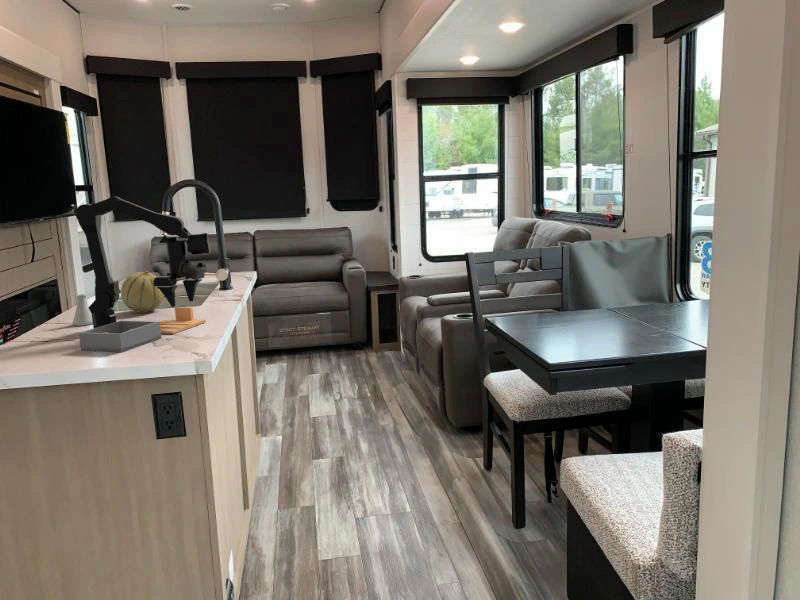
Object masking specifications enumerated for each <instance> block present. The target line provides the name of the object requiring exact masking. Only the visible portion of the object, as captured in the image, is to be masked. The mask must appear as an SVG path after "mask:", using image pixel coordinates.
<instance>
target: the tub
mask: <svg viewBox="0 0 800 600" xmlns="http://www.w3.org/2000/svg"><path fill="white" fill-rule="evenodd" d="M78 339H79V345H80V346H79V347H80V351H83V352H84V351H85V352H102V353H103V352H104V353H106V352H107V353H108V352H109V353H125V352H127V351H129V350H133V349H136V348H138V347H140V346H144V345H147V344H149V343H152V342H154V341H155V342H156V341H157V340H160V339H162V333H161V330H160V322H159V321H157V320H156V321H154V320H153V321H152V320H151V321H150V320H118V321H116V322H114V323H111V324H107V325H104V326H101V327H97V328H91V329H88V330H87V329H86V330H83V331H80V332H78Z"/></svg>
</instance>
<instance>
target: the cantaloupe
mask: <svg viewBox="0 0 800 600" xmlns="http://www.w3.org/2000/svg"><path fill="white" fill-rule="evenodd" d="M155 277H157V276H156V275H155V274H153V273H150V272H149V270H146V271H139V272H133V273H131V274H130V275H128V276H127V277H125V280H124V281H123V283H122V285H121V289H120V291H121V293H120V297H121V301H122V303H124V305H125V306H126V307H127V308H129V309H130V310H132V311H134V312H136V313H147V311H149V312H151V311H154V310H155V309H158V307H159V306H161V304H162V302H163V300H164V298H165V296H164V294H163V293H162V292H161V291H160V289H157V287H158V286H154V283H153V280H154V278H155Z"/></svg>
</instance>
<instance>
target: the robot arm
mask: <svg viewBox="0 0 800 600" xmlns="http://www.w3.org/2000/svg"><path fill="white" fill-rule="evenodd" d="M113 211H117V212H120V213H123V214H125V215H128V216H130V217H133V218H135V219H138V220H141V221H143V222H145V223H148V224H151V225H152V226H154V227H156V228H157V229H159V230H160V231H162V232H163V233H164V234H163V236H162V238H161V239H160V240H159V241H158V242H159V244H166V245H165V246H166V253H167V259H166V260H165V264H168V270H169V272H167V273H166V275H161V276H156V277H155V278H154V280H153V283H154V286H158V287H157V289H160V291H161V292H162V293H163V294H164V298H165V299H166V301H167V302H168V303H169V305H170V306H171V307H173V308H176V289H178V285H177V283H178V282H180V281H182V284H183V286H184V289H185V292H186V295H187V299H188V301H189V302H193V301H194V298H195V294H196V289H197V287H198V284H200V282H202V281H203V279H204V278H205V274H207V267H206V266H207V265H206V263H205V262H203V261H201V262H197V264H196V263H192V261H191V258H188V257H187V253H189V254H191V255H192V256H199V255H211V243H210V240H209V235H208V232H203V233H196V234H195V233H193V234H192V233H191V232H190V231H189V230H188V229H187V228H186V227H185V224H184V223H185V222H184V221H183V219H182V218H180V217H178V216H174V215H169V214H165V213H159V212H155V211H153V210H150V209H148V208H145V207H143V206H141V205H137V204H135V203H134V202H133V203H132V202H130V201H128V200H125V199H122V198H121V197H119V196H109V197H108V198H106V199H104V200H100V201H99V202H95V203H87V204H86V203H84V204H80V205H79V206H78V207H76V209H75V217H76V220H77V222H78V225H79V227H80V228H81V230H82V231H83V233H84V235H85V238H86V242H87V246H88V251H89V256H90V260H91V264H92V269H93V273H94V276H95V277H94V278H95V282H94V283H95V285H94V297H95V300H94V301H93V302H92V303H91V304H90V305H88V306H89V310H90V312H91V314H92V321H93V324H92V329H94V328H97V327H101V326H104V325H107V324H111V323H114V322H117V316H116V313H115V309H113V308H114V307H115V303H117V302H118V300H119V299H120V295H121V289H120V287H119V286H120V283H119V280H115V281H114V280H113V278H112V276H111V274H110V269H109V268H110V267H109V265H108V260H107V255H106V251H105V247H104V243H103V238H102V234H101V232H102V231H101V229H102V216H104V215H106V214H109V213H111V212H113ZM166 234H167V235H166ZM169 236H171V237H169ZM178 237H179V238H181V239H179V238H178Z"/></svg>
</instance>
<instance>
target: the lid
mask: <svg viewBox="0 0 800 600" xmlns="http://www.w3.org/2000/svg"><path fill="white" fill-rule="evenodd" d="M174 313H175V318H166V319H163V320H160V321H159V320H158V322H160V330H161V334H166V335H167V334H169V335H170V334H171V335H174V334H176V333H179V332H182V331H185V330H187V329H190V328H194V327H196V326H198V325H202V324H204V323H206V322H207V320H206V319H201V318H200V319H199V318H198V319H197V318H196V319H195V318H194V309H193V307H186V306H183V307H182V306H181V307H180V306H175V307H174Z"/></svg>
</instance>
